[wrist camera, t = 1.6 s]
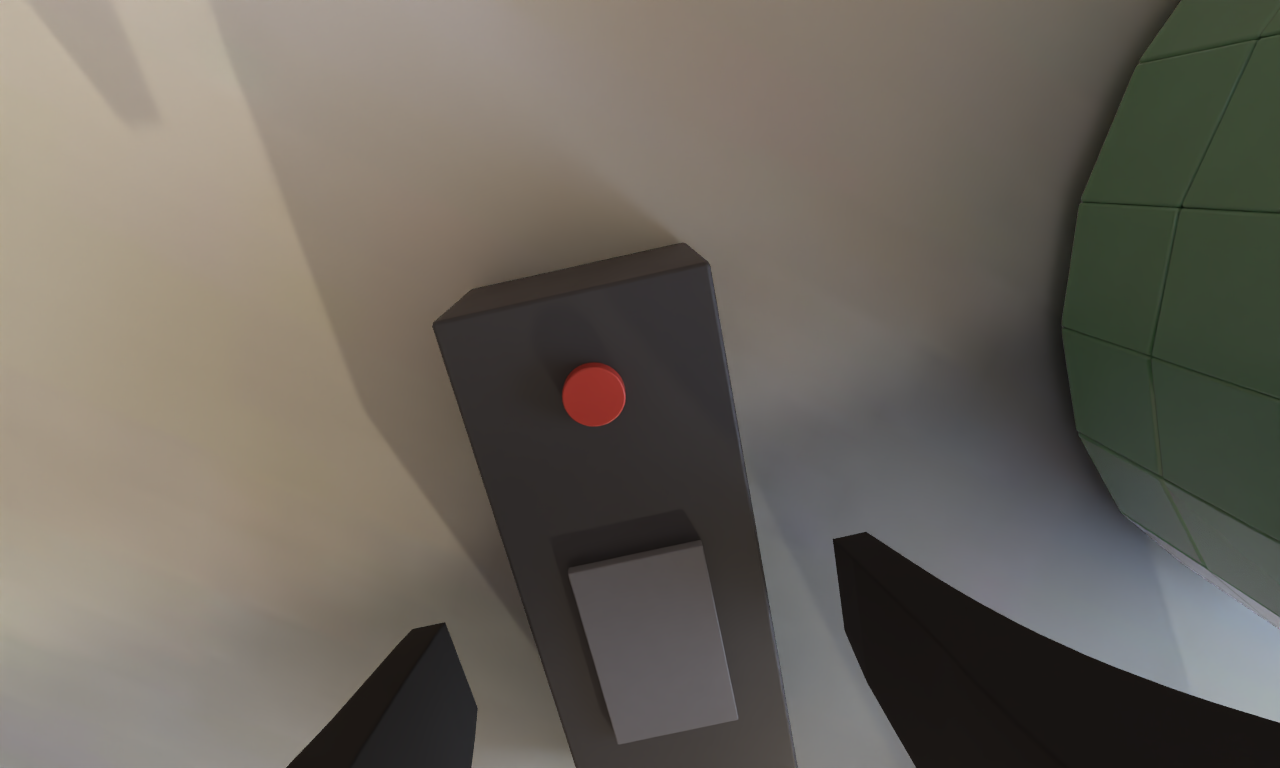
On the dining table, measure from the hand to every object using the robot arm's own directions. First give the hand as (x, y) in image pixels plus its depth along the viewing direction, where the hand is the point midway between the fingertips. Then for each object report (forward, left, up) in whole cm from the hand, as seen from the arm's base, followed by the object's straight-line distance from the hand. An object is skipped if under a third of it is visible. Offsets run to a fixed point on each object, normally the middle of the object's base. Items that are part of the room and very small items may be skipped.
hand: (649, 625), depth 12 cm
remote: (0, 0, -3) cm, 3 cm away
